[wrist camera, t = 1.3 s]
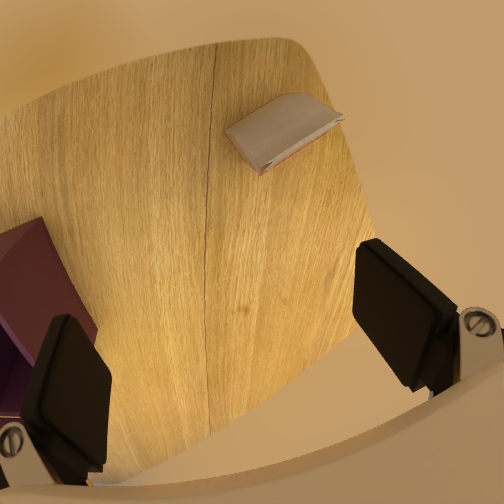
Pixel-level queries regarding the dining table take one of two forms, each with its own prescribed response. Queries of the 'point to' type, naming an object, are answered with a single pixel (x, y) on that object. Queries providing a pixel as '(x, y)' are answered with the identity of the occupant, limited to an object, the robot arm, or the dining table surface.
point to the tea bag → (281, 129)
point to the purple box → (30, 306)
